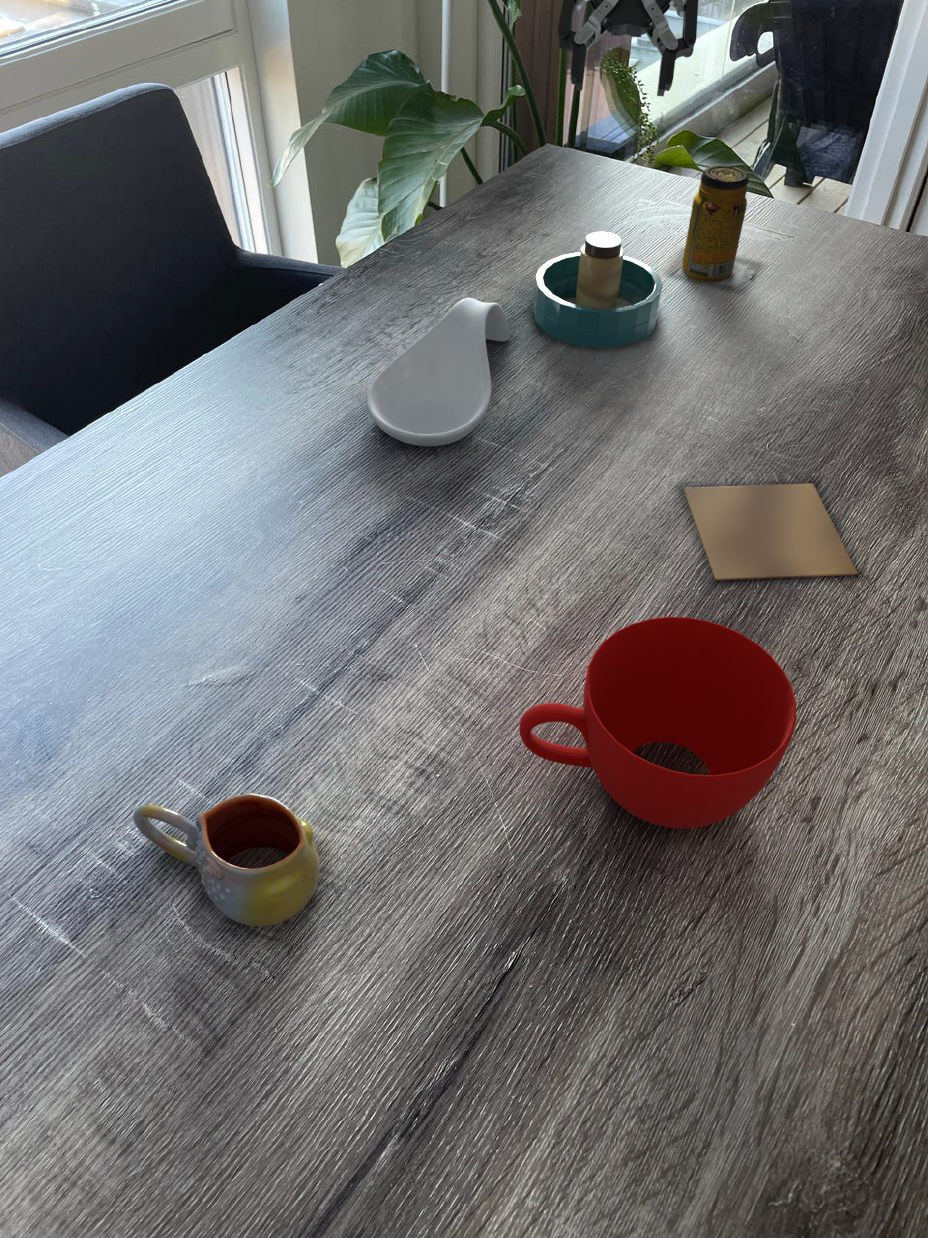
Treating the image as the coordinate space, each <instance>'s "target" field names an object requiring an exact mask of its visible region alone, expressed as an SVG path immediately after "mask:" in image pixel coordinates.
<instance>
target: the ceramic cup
mask: <svg viewBox="0 0 928 1238" xmlns="http://www.w3.org/2000/svg"><path fill="white" fill-rule="evenodd" d="M793 688H794V687H793V685H792V683H791V681H790V680H789V678H788V676H787V674H786V672H785V671H784V670H783V668H782V667H781V666H780V664H779V663H778V662H777V661H776V659H775V658H774V657H773V656H772V655H771V654H769V652H768V651H767V650H765V649H764V647H762V646H761V645H759V643H757V642H755V641H754V640H752V639H750V638H749V637H748V636H746V635H745V634H744V633H743V634H742V633H740V632H738V631H736V630H734V629H732V628H729V627H727V626H726V625H722V624H719V623H716V622H712V621H709V620H705V619H700V618H693V617H687V616H662V617H653V618H648V619H645V620H641V621H637V622H634V623H632V624H629V625H627V626H625V627H623V628H621V629H619V630H617V631H615V632H614V633H613V634H611V635H610V636H609V637H608V638H606V639H605V640H604V641H603V642H602V643H601V644H600V646H599V647H598V648H597V649H596V650H595V651H594V652H593V655H592V657H591V659H590V662H589V664H588V666H587V670H586V674H585V680H584V685H583V698H582V700H583V701H582V708H579V707H576V706H573V705H569V704H565V703H559V702H546V703H541V704H540V703H539V704H537V705H535V706H532V707H531V708H529V709H528V710H526V711H525V712H524V714H523V715H522V716H521V718H520V720H519V724H518V725H519V727H518V728H519V736H520V740H521V741H522V743H523V745H524V746H525V747H526V748H527V750H528V751H530V752H531V753H532V754H534V755H535V756H537V757H539V758H541V759H543V760H546V761H549V762H553V763H557V764H561V765H568V766H575V767H579V768H581V767H582V768H589V769H593V772H594V774H595V776H596V777H597V778H598V780H599V782H600V784H601V785H602V787H603V788H604V790H605V791H606V792H607V793H608V794H609V795H610V797H611V798H612V799H613V800H614V801H615V803H617V804H618V805H619V806H620V807H621V808H622V809H624V810H625V811H627V812H628V813H629V814H631V815H633V816H634V817H636V818H638V819H639V820H641V821H643V822H647V823H648V824H649V823H650V824H652V825H654V826H659V827H664V828H668V829H682V830H683V829H684V830H685V829H686V830H687V829H696V828H701V827H707V826H709V825H712V824H715V823H718V822H721V821H724V820H725V819H727V818H729V817H731V816H733V815H734V814H735V813H738V812H739V811H740V810H743V808H744V807H746V805H749V803H750V802H751V801H752V800H753V799H754V798H755V797H756V796H757V795H758V794H759V793H760V792H761V791H762V790H763V789H764V787H765V786H766V785H767V783H768V782H769V780H770V779H771V777H772V776H773V774H774V772H775V771H776V769H777V767H778V765H779V764H780V762H781V760H782V759H783V757H784V755H785V753H786V752H787V749H789V748H788V747H789V745H790V743H791V741H792V739H793V735H794V731H795V728H796V724H797V701H796V696H795V693H794V689H793ZM546 723H565V724H569V725H571V726H573V727H574V728H575V729H577V730H578V732H580V735H581V736H582V738H583V741H584V743H585V748H583V747H582V748H581V747H574V746H568V745H563V744H556V743H553V742H549V741H546V740H544V739H541V738H539V737H538V736H536V734H534V733H533V732H532V730H533V729H534V728H535V727H537V726H539V725H542V724H546ZM657 742H659V743H670V744H675V745H678V746H681V747H683V748H686V749H688V750H690V751H691V752H693V753H694V754H695V755H697V757H698V758H699V759H700V760H702V761H703V763H704V764H705V766H706V767H707V769H708V771H709V774H710V775H709V774H691V773H686V772H680V771H675V770H671V769H668V768H666V767H662V766H660V765H657V764H654V763H651V762H649V760H646V759H644V758H642V757H640V756H638V755H636V754H635V753H634V751H635V750H636V749H638V748H640V747H642V746H645V745H647V744H651V743H657Z"/></svg>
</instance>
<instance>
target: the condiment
mask: <svg viewBox="0 0 928 1238" xmlns="http://www.w3.org/2000/svg"><path fill="white" fill-rule="evenodd" d="M749 182H750V177H749V175H748V173H747V172H746V171H744V169H741V168H740V167H736V166H732V165H725V164H724V165H722V164H719V165H718V164H717V165H712V166H709V167H707V168H705V169H704V170H703V171H702V173H701V176H700V183H699V185H698V191H697V192H696V193H695V195H694V197H693V201H692V205H691V211H690V212H691V213H690V218H689V225H688V229H687V235H686V239H685V246H684V250H683V256H682V263H681V264H682V271H683V273H684V274H685V275H686V276H687V277H689V278H691V279H694V280H696V281H701V282H706V283H707V282H708V283H709V282H710V283H714V282H721V281H724V280H727V279H728V278H729V277H730V276H731V274H732V272H733V271H734V267H735V261H736V257H737V253H738V249H739V244H740V239H741V234H742V230H743V225H744V221H745V216H746V211H747V207H748V200H747V197H746V195H747V193H748V187H747V186H748V184H749ZM744 270H745V272H746V274H747V275H748V277H749V279H752V277H753V276H754V274H755V273H756V270H754V269H752V268H749V267H744Z"/></svg>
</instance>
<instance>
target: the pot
mask: <svg viewBox="0 0 928 1238" xmlns="http://www.w3.org/2000/svg"><path fill="white" fill-rule="evenodd" d="M579 261H580V251H578V252H572V253H567V254H562V255H559V256H557V257H554V258H552V259H549V260H547V261H546V262H545V263H544V264H542V265H541V266H540V267H539V268H538V270H537V272H536V275H535V277H534V278H535V279H534V294H533V309H532V314H533V318H534V320H535V323H536V324H537V325H538V326H539V328H540V329H541V330H542V331H543V332H544V333H546V334H548V335H550V336H551V337H552V338H554V339H556V340H558V341H562V342H564V343H568V344H571V345H573V346H579V347H587V348H595V349H599V348H600V349H603V348H617V347H622V346H627V345H628V346H629V345H632V344H634V343H637V342H639V341H641V340H643V339H645V338H647V337H649V335H650V334H651V333H652V332H654V330H655V328H656V325H657V320H658V314H659V309H660V303H661V295H662V291H663V282H662V280H661V278H660V274H658V273H657V271H655V270H654V269H653V268H652V267H651V266H650V265H647V264H645V263H644V262H642V261H640V260H638V259H636V258H634V257H629V256H626V255H624V257H623V264H622V272H621V279H620V287H619V294H618V299H622V300H623V301H625V302H627V303H629V304H630V305H625V306H622V307H621V306H620V307H617V308H604V309H599V308H591V307H584V306H579V305H576V304H575V303H573V302H569V301H565V300H564V299H576V291H577V281H578V271H579Z"/></svg>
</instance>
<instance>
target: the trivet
mask: <svg viewBox="0 0 928 1238" xmlns="http://www.w3.org/2000/svg"><path fill="white" fill-rule="evenodd" d="M682 491H683V493H684V496H685V499H686V502H687V506H688V508H689V510H690V513H691V516H692V519H693V522H694V525H695V528H696V530H697V533H698V536H699V539H700V543H701V544H702V548H703V551H704V553H705V556H706V559H707V561H708V564H709V567H710V571H711V573H712V576H713V579H714V580H715V581H735V580H736V581H737V580H739V581H740V580H760V579H761V580H762V579H784V578H785V579H787V578H788V579H789V578H812V577H815V578H816V577H837V576H838V577H840V576H858V575H859V573H858V571H857V568H856V567H855V564H854V563H853V561H852V559H851V557H850V555H849V553H848V550H847V549H846V547H845V545H844V543H843V540H842V538H841V536H840V534H839V533H838V530H837V529H836V527H835V525H834V523H833V521H832V518H831V517H830V515H829V513H828V511H827V509H826V506H825V505H824V503H823V501H822V498H821V496H820V495H819V492H818V490H817V489H816V486H815V485H814V483H787V484H758V485H757V484H756V485H755V484H754V485H753V484H752V485H727V486H724V485H721V486H697V487H683V488H682Z"/></svg>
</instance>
